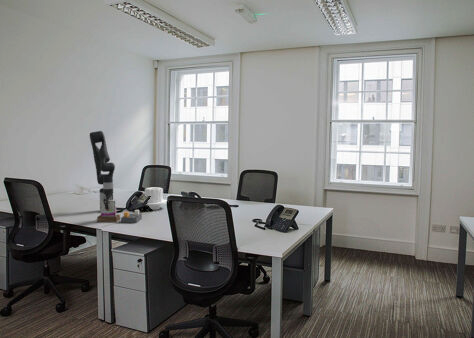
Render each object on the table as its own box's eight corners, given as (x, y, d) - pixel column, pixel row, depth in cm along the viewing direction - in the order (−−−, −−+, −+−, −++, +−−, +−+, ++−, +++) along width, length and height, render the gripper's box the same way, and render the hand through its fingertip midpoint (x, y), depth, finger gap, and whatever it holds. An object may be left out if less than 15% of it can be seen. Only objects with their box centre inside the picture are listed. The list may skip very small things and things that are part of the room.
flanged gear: (139, 211, 325) (139, 190, 324) (141, 206, 350) (140, 186, 348) (167, 210, 330) (167, 190, 329) (167, 205, 355) (167, 186, 353)
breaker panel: (127, 218, 299) (127, 213, 299) (141, 218, 299) (141, 213, 298) (121, 222, 284) (121, 217, 284) (136, 222, 284) (136, 217, 283)
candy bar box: (116, 219, 294) (116, 199, 293) (115, 221, 289) (115, 200, 288) (102, 220, 292) (101, 199, 291) (100, 221, 287) (100, 201, 286)
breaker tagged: (125, 216, 289) (125, 211, 288) (128, 216, 288) (128, 211, 288) (123, 217, 286) (123, 212, 285) (127, 217, 286) (127, 212, 285)
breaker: (135, 214, 296) (135, 209, 296) (139, 214, 296) (139, 209, 296) (134, 214, 293) (134, 210, 293) (138, 214, 293) (138, 210, 293)
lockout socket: (101, 219, 295) (101, 214, 295) (120, 219, 295) (120, 214, 295) (97, 221, 286) (97, 216, 286) (116, 222, 286) (116, 217, 286)
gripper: (106, 186, 295) (107, 206, 297) (99, 189, 281) (100, 209, 283) (116, 186, 295) (116, 206, 297) (109, 189, 281) (110, 210, 283)
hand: (108, 208), depth 290 cm, fingers open, 8 cm apart
